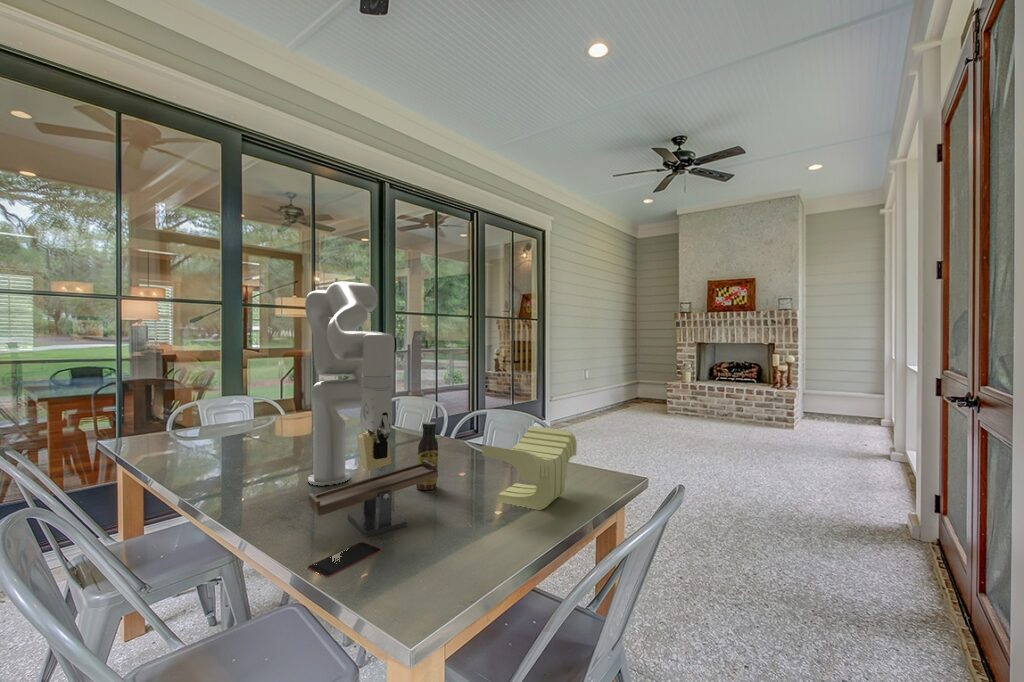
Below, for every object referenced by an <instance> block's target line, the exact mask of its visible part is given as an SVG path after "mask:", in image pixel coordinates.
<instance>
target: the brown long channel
mask: <svg viewBox="0 0 1024 682" xmlns="http://www.w3.org/2000/svg"><path fill="white" fill-rule="evenodd" d="M438 477H439V470H438V468H437V469H436V465H434V464H432V463H430V462H428V461H426V460H422V463H419V464H417V463H416V464H413V465H409V466H406V467H402V468H400V469H395V470H393V471H389V472H387V473H382V474H379V475H376V476H373V477H369V478H366V479H365V478H364V479H362V480H358V481H355V482H353V483H349V484H346V485H343V486H339V487H336V488H333V489H329V490H325V491H323V492H322V491H321V492H319V493H316V494H314V493H313V492H310V493H308V496H307V497H308V498H307V499H308V505H309V507H310V508H311V509H312V510H313V511H314V513H315V514H316V515H317V516H318V517H321V516H324V515H327V514H330V513H333V512H335V511H339V510H342V509H344V508H347V507H351V506H354V505H357V504H360V503H363V502H364V501H367V500H370V499H373V498H376V499H377V498H378V493H379V492H384V491H389V490H390V491H392V493H394V492H398V491H401V490H403V489H406V488H409V487H413V486H415V485H416V484H419V483H422V482H425V481H428V480H431V479H434V478H437V479H438Z"/></svg>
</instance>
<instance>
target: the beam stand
mask: <svg viewBox="0 0 1024 682" xmlns="http://www.w3.org/2000/svg"><path fill="white" fill-rule="evenodd" d="M392 494H393V492H392V491H390V490H389V491H384V492H379V493H378V497H376V498H373V499H370V500H367V501H364V502H362V510H358V511H354V512H350V513H347V519H348V520H349V521H350V522H351V523H352V524H353V525H354V526H355V527H356V526H357V527H356V528H357V529H358V531H360V533H362V534H363V536H364V537H366V538H367V536H368V537H370V536H371V535H372V536H376V535H378V533H379V534H383V533H387V532H391V531H394V529H395V530H398V528H399V529H402V528H405V527H408V526H407V525H408V524H407V523H408V522H407V520H405V519H404V518H403V517H401V516H400V515H399V514H398V513H396V512H395V511H394V510H392V504H393V503H392V500H393V499H392ZM390 530H391V531H390ZM386 531H387V532H386ZM375 534H376V535H375ZM372 536H371V537H372Z"/></svg>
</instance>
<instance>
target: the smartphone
mask: <svg viewBox="0 0 1024 682" xmlns="http://www.w3.org/2000/svg"><path fill="white" fill-rule="evenodd" d="M348 548H349V549H348V550H347V549H346V548H345V549H346V550H347V551H346V550H345V551H343V550H344V549H342V550H341V551H343V553H342V552H341V554H340V556H342V557H340V562H339V560H338V561H336V562H335V558H334V561H333V562H332V555H333V554H332V555H329V556H327V557H324V558H322V559H320V560H318V561H316V562H314V563H312V564H309V565H308V566H307V570H309V569H310V570H309V571H311V570H312V571H311V572H313V571H314V572H313V573H315V572H317V573H319V574H320V575H319V574H318V575H319V576H321V575H323V576H325V577H324V578H330V576H331V577H333V576H334V574H335V575H336V573H337V574H339V573H340V571H341V572H343V571H345V570H346V568H347V569H349V568H350V567H353V566H354V565H356V564H358V563H360V562H362V560H363V561H364V559H365V560H366V558H367V559H368V557H369V558H370V556H371V557H373V556H374V554H375V555H377V554H379V553H380V552H382V548H380V547H378V546H375V545H372V544H370V543H368V542H365V541H361V542H357V543H356V544H353V545H351V546H349V547H348ZM372 555H373V556H372ZM330 557H331V558H330ZM338 559H339V558H338ZM336 560H337V559H336ZM334 562H335V563H334ZM336 563H337V564H336ZM314 564H315V565H314ZM316 564H317V565H316ZM344 569H345V570H344ZM342 570H343V571H342ZM338 572H339V573H338ZM317 573H316V574H317ZM332 575H333V576H332ZM323 576H322V577H323Z"/></svg>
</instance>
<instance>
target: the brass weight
mask: <svg viewBox="0 0 1024 682" xmlns="http://www.w3.org/2000/svg"><path fill="white" fill-rule="evenodd" d="M380 429H381V428H379V429H378V430H380ZM381 433H383V432H379V436H380V434H381ZM356 439H357V440H356V441H357V447H358V448H357V449H358V455H359V461H360V462H359V463H360V466H361V467H362V468H363V469H365V470H366V471H369V472H370V471H372V470H375V469H378V468H381V467H385V466H388V465H391V464H392V457H391V449H390V442H389V441H390V440H389V439H388V455H387V458H382V459H374V443H376V438H375V431H368V432H366V431H364V432H362V433H358V434H356Z"/></svg>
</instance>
